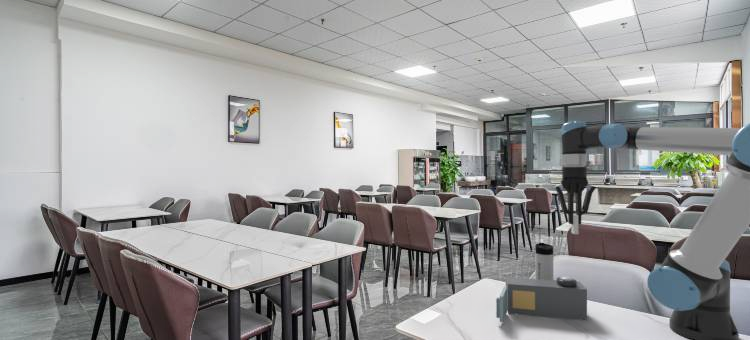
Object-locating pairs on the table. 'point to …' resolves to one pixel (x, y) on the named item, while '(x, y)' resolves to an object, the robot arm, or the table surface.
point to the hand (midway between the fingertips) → (574, 233)
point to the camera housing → (547, 298)
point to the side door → (501, 305)
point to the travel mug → (544, 261)
